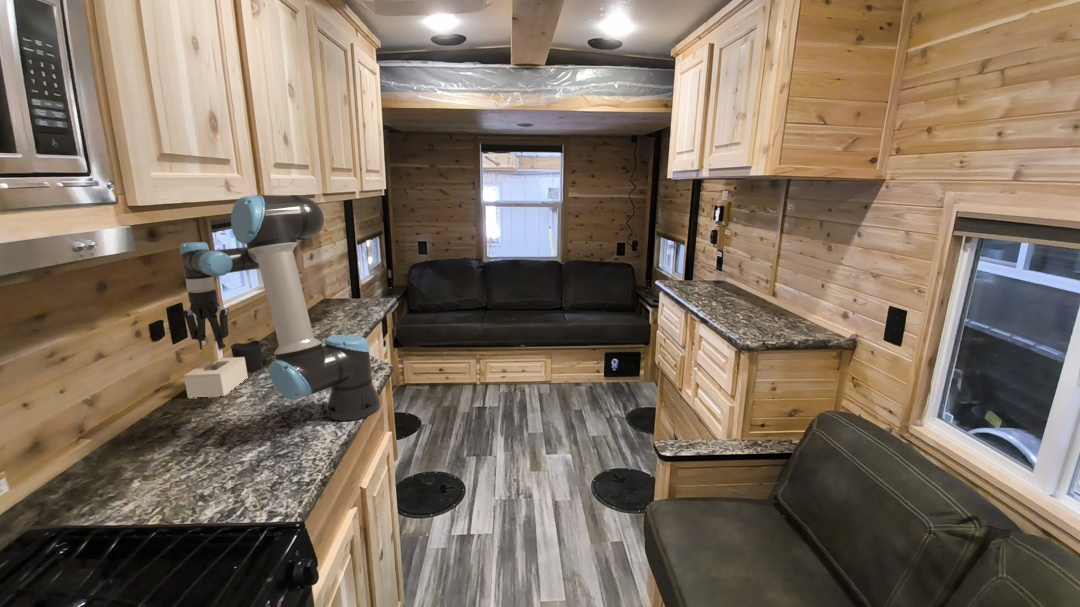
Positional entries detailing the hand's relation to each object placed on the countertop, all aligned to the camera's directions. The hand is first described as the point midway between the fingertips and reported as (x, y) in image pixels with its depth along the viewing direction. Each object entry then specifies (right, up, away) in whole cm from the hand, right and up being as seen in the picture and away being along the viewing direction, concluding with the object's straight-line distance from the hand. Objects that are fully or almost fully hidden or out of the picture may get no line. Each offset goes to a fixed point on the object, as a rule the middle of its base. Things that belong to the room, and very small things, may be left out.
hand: (214, 358), depth 159 cm
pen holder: (0, -7, +19) cm, 20 cm away
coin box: (0, -10, +2) cm, 11 cm away
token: (0, 0, 0) cm, 0 cm away
